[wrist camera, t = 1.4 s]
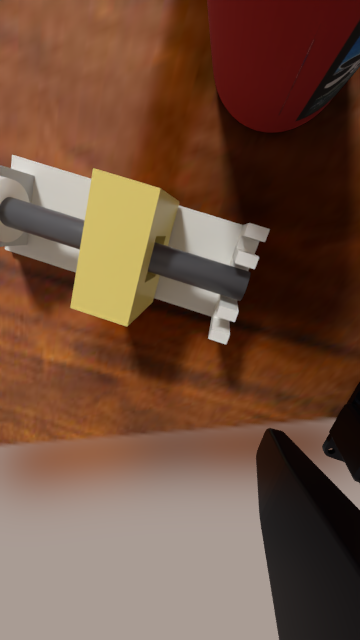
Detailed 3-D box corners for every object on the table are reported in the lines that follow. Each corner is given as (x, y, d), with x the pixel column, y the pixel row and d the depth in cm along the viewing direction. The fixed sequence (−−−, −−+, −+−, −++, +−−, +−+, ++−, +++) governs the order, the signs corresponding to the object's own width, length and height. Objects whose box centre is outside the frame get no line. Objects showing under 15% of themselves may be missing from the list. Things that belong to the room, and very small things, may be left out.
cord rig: (258, 230, 17) (271, 228, 12) (225, 319, 19) (226, 348, 14) (17, 156, 18) (-58, 128, 13) (10, 249, 20) (-59, 254, 15)
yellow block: (179, 201, 17) (160, 188, 12) (152, 301, 19) (127, 326, 14) (131, 187, 17) (93, 168, 12) (110, 288, 19) (70, 307, 14)
